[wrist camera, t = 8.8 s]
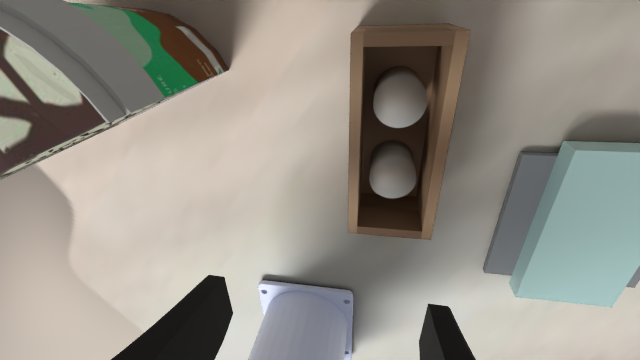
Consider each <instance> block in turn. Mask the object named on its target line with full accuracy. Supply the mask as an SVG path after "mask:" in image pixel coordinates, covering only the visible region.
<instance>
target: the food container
mask: <svg viewBox="0 0 640 360" xmlns="http://www.w3.org/2000/svg"><path fill="white" fill-rule="evenodd" d="M228 70H229V69H228V68H227V66H226V64H225V63H224V61H223V60H222V58H221V56H220V55H219V53H218V52H217V50H216V49H215V48H214V47H213V46H212V45H211V44H210V43H209V42H208V41H207V40H206V39H205V38H204V37H203V36H202V35H201V34H200V33H199V32H198V31H197V30H196V29H194V28H192V27H191V26H189V25H187V24H185V23H184V22H182V21H180V20H178V19H177V18H175V17H173V16H171V15H169V14H164V13H159V12H154V11H149V10H144V9H133V8H123V7H112V6H101V5H90V4H79V3H69V2H65V1H63V0H0V180H1V179H3V178H5V177H8V176H10V175H12V174H14V173H16V172H18V171H20V170H23V169H25V168H27V167H29V166H31V165H33V164H35V163H37V162H40V161H42V160H44V159H46V158H48V157H50V156H52V155H54V154H57V153H59V152H61V151H63V150H65V149H67V148H69V147H72V146H74V145H76V144H78V143H80V142H82V141H84V140H86V139H89V138H91V137H93V136H95V135H97V134H99V133H101V132H103V131H106V130H108V129H110V128H112V127H114V126H116V125H118V124H120V123H122V122H124V121H126V120H128V119H131V118H133V117H135V116H137V115H139V114H141V113H143V112H145V111H147V110H149V109H151V108H153V107H155V106H157V105H159V104H161V103H163V102H165V101H167V100H169V99H171V98H173V97H175V96H177V95H179V94H181V93H183V92H185V91H187V90H189V89H191V88H194V87H196V86H198V85H200V84H202V83H204V82H206V81H208V80H210V79H212V78H214V77H216V76H218V75H220V74H222V73H224V72H226V71H228Z"/></svg>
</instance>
